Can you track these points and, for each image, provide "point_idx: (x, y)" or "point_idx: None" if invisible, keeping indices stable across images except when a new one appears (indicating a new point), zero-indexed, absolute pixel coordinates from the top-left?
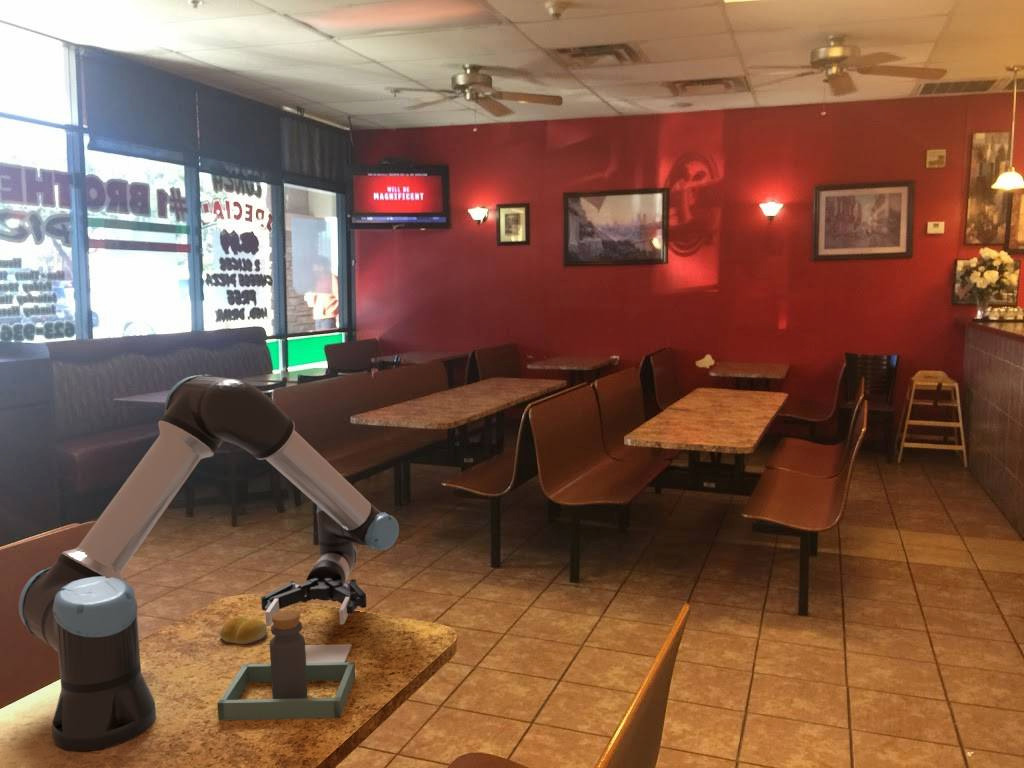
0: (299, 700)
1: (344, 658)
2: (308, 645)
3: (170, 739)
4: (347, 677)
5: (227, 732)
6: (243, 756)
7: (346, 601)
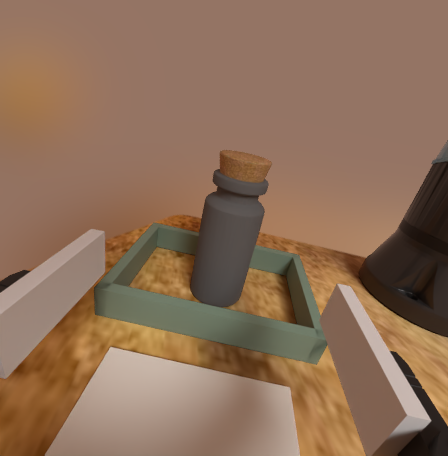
0: None
1: (82, 400)
2: None
3: (321, 261)
4: (128, 252)
5: None
6: None
7: (32, 274)
